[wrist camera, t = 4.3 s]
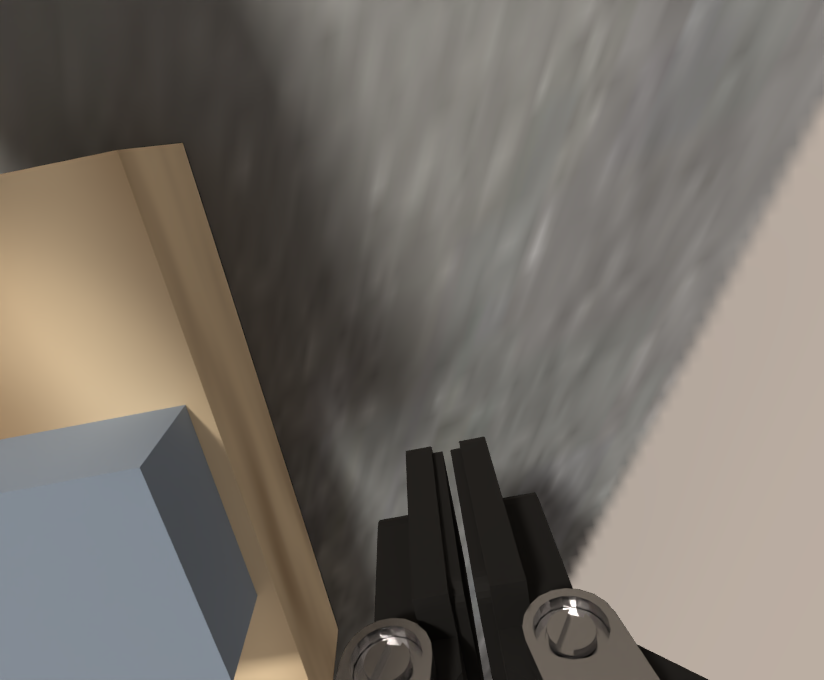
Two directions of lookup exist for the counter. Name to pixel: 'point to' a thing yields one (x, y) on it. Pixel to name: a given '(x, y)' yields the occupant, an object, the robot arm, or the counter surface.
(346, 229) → the counter surface
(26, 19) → the counter surface
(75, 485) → the blue gray rectangular block
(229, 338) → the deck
